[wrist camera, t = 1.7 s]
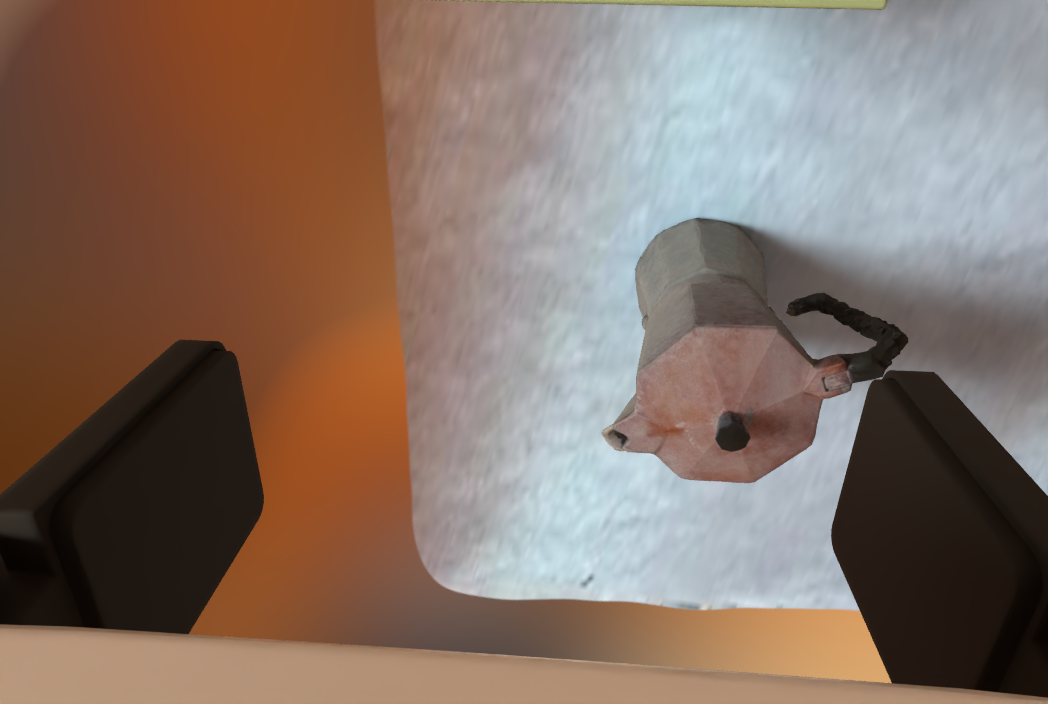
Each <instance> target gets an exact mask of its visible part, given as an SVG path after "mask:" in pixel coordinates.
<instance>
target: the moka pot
mask: <svg viewBox="0 0 1048 704" xmlns="http://www.w3.org/2000/svg"><path fill="white" fill-rule="evenodd" d="M635 270H636V288H637V295H638V303H639V308H640V311H641V313H642V316H643V319H642V326H643V328H644V329H645V330H646V331H645V336H644V340H643V345H642V350H641V355H640V359H639V364H638V370H637V377H636V394H635V395H634V396H633V398H632V399H631V400H630V402H629V403H628V404H627V406H626V407H625V409H624V410H623V412H622V413H621V415H620V416H619V417H618V418H617V420H616V421H615V422H614V423H613V424H612V425H610V426H609V427H607V428H605V429H604V430H603V431H602V435H603V437H604V439H605V440H606V442H607V443H608V444H609V445H610V446H612V447H613V448H614V449H615V450H618V451H627V452H636V453H651V454H654V455H656V456H657V457H658V458H659V459H661V460H662V461H663V462H664V463H665V464H666V465H667V466H668V467H669V468H670V469H671V470H672V471H673V472H674V473H675V474H677V475H678V476H679V477H680V478H683V479H688V480H701V481H722V482H736V483H752V482H755V481H757V480H758V479H760V478H762V477H763V476H765V475H766V474H768V473H770V472H771V471H773V470H774V469H776V468H777V467H779V466H781V465H782V464H784V463H785V462H787V461H788V460H790V459H791V458H793V457H794V456H796V455H798V454H799V453H801V452H802V451H804V450H805V449H807V448H808V447H809V446H810V445H812V443H813V440H814V438H815V434H816V428H817V423H818V418H819V412H820V408H821V405H822V401H823V399H826V398H831V397H834V396H837V395H840V394H843V393H846V392H848V391H850V390H851V387H852V384H853V383H856V382H862V381H867V380H872V379H876V378H880V377H883V375H884V372H885V370H886V369H887V368H888V366H890V365H892V361H891V360H892V359H893V358H895V357H896V356H898V355H899V354H900V351H901V350H903V348H904V347H905V345H906V344H907V343H908V337H907V336H906V334H904V333H903V332H902V331H900V329H899V328H898V327H896V326H895V325H894V324H888V323H887V322H886V321H882V320H881V319H880V318H877V317H872V316H870V315H868V314H866V313H865V312H863V311H859V310H858V309H854V308H850V307H849V306H848V305H847V304H846V303H845V302H839V301H838V300H837V299H835V298H832V297H831V296H829V295H827V294H825V293H816V294H813V295H809V296H807V297H804V298H799V299H796V300H794V301H793V302H791V303H789V305H788V307H789V308H788V309H787V312H786V313H787V314H789V315H790V316H798V315H801V314H804V313H807V312H810V311H820V312H821V313H825V314H829V315H833V316H834V318H835V319H836V320H838V321H839V322H841V323H842V324H843V325H848V326H849V327H850V328H852V329H853V330H855V331H857V332H860V334H861V335H863V336H865V337H867V338H871V339H873V340H875V341H877V344H876V346H874V347H872V348H871V349H869V350H868V351H866V352H861V353H854V354H836V355H831V356H828V357H825V358H822V359H819V360H817V359H812V358H811V357H810V356H809V355H808V354H807V353H806V351H805V350H804V348H803V347H802V346H801V345H800V344H799V342H798V341H797V340H796V339H795V338H794V337H793V335H792V334H791V332H790V331H789V330H788V329H787V328H786V326H785V325H784V324H783V323H782V321H781V320H779V319H778V318H777V316H776V315H775V312H774V311H773V309H772V308H771V307H768V306H767V301H768V300H767V290H766V285H765V273H764V259H763V255H762V253H761V252H760V251H759V249H758V248H757V247H756V245H755V244H754V243H753V242H752V241H751V239H750V238H749V237H748V236H747V235H746V234H745V233H743V232H742V231H741V230H740V229H739V228H738V227H736V226H734V225H731V224H728V223H724V222H719V221H714V220H708V219H700V218H695V219H691V220H687V221H684V222H682V223H679V224H678V225H675V226H673V227H671V228H669V229H666V230H663V231H662V232H661V233H659V234H658V235H657V236H656V237H655V238H654V239H653V240H652V241H651V243H650V244H649V245H648V247H647V249H646V250H645V252H644V253H643V255H642V256H641V258H640V259H639V261H638V264H637V266H636V269H635Z"/></svg>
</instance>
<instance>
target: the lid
mask: <svg viewBox="0 0 1048 704" xmlns="http://www.w3.org/2000/svg"><path fill="white" fill-rule="evenodd" d="M434 1H483V2H532V3H581V4H629V5H678V6H727V7H776V8H824V9H873V10H881V9H884V8H885V6H886V3H887V0H434Z"/></svg>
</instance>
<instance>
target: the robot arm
mask: <svg viewBox="0 0 1048 704" xmlns="http://www.w3.org/2000/svg"><path fill="white" fill-rule="evenodd" d="M263 503H264V495H263V488H262V483H261V478H260V473H259V468H258V463H257V458H256V453H255V448H254V443H253V438H252V432H251V428H250V422H249V417H248V412H247V407H246V402H245V397H244V392H243V386H242V381H241V376H240V371H239V366H238V362H237V358H236V356H235V355H234V353H233V352H231V351H226V349H225V348H224V346H223V344H222V343H220V342H218V341H197V340H179V341H177V342H175V343H174V344H173V345H172V346H171V347H169V348H168V349H167V350H166V351H165V352H164V353H162V354H161V355H160V356H159V357H158V358H157V359H156V360H154V361H153V362H152V363H151V364H150V365H149V366H148V367H146V368H145V369H144V370H143V371H142V372H141V373H139V374H138V375H137V376H136V377H135V378H134V379H133V380H132V381H130V382H129V383H128V384H127V385H126V386H125V387H124V388H122V389H121V390H120V391H119V392H118V393H117V394H115V395H114V396H113V397H112V398H111V399H110V400H109V401H107V402H106V403H105V404H104V405H103V406H102V407H100V408H99V409H98V410H97V411H96V412H95V413H94V414H92V415H91V416H90V417H89V418H88V419H87V420H86V421H84V422H83V423H82V424H81V425H80V426H79V427H78V428H76V429H75V430H74V431H73V432H72V433H71V434H70V435H68V436H67V437H66V438H65V439H64V440H62V441H61V442H60V443H59V444H58V445H57V446H56V447H55V448H53V449H52V450H51V451H50V452H49V453H48V454H47V455H45V456H44V457H43V458H42V459H41V460H40V461H38V462H37V463H36V464H35V465H34V466H33V467H32V468H30V469H29V470H28V471H27V472H26V473H25V474H23V475H22V476H21V477H20V478H19V479H18V480H17V481H15V482H14V483H13V484H12V485H11V486H10V487H8V488H7V489H6V490H5V491H4V492H3V493H2V494H1V495H0V704H1048V496H1047V495H1046V494H1045V493H1044V491H1043V490H1042V489H1041V488H1040V487H1039V486H1038V485H1037V484H1036V483H1035V482H1034V480H1033V479H1032V478H1031V477H1030V476H1029V475H1028V474H1027V473H1026V472H1025V471H1024V469H1023V468H1022V467H1021V466H1020V465H1019V464H1018V463H1017V462H1016V461H1015V460H1014V458H1013V457H1012V456H1011V455H1010V454H1009V453H1008V452H1007V451H1006V450H1005V449H1004V447H1003V446H1002V445H1001V444H1000V443H999V442H998V441H997V440H996V439H995V438H994V436H993V435H992V434H991V433H990V432H989V431H988V430H987V429H986V428H985V427H984V425H983V424H982V423H981V422H980V421H979V420H978V419H977V418H976V417H975V416H974V414H973V413H972V412H971V411H970V410H969V409H968V408H967V407H966V406H965V405H964V403H963V402H962V401H961V400H960V399H959V398H958V397H957V396H956V395H955V394H954V392H953V391H952V390H951V389H950V388H949V387H948V386H947V385H946V384H945V383H944V381H943V380H942V379H941V378H940V377H939V376H938V375H937V374H935V373H934V372H919V371H896V370H890V371H888V372H887V373H886V374H885V375H884V377H883V378H882V380H874V381H872V383H871V384H870V386H869V389H868V392H867V396H866V400H865V404H864V407H863V411H862V415H861V419H860V422H859V426H858V430H857V434H856V438H855V441H854V445H853V449H852V453H851V456H850V460H849V464H848V468H847V472H846V475H845V479H844V483H843V487H842V490H841V494H840V498H839V502H838V505H837V509H836V513H835V517H834V521H833V524H832V532H831V538H832V546H833V550H834V553H835V555H836V557H837V560H838V562H839V564H840V566H841V569H842V571H843V573H844V575H845V578H846V580H847V582H848V584H849V587H850V589H851V591H852V594H853V596H854V598H855V600H856V603H857V605H858V607H859V609H860V612H861V614H862V616H863V618H864V621H865V623H866V625H867V628H868V630H869V632H870V634H871V636H872V639H873V641H874V643H875V645H876V648H877V650H878V652H879V655H880V657H881V659H882V661H883V664H884V666H885V668H886V671H887V673H888V675H889V677H890V679H891V682H892V683H879V682H866V681H853V680H839V679H825V678H813V677H798V676H786V675H785V676H784V675H773V674H758V673H745V672H732V671H719V670H705V669H691V668H679V667H665V666H652V665H638V664H623V663H609V662H596V661H582V660H567V659H552V658H539V657H525V656H511V655H496V654H481V653H467V652H466V653H465V652H452V651H438V650H423V649H408V648H393V647H379V646H364V645H348V644H333V643H318V642H301V641H286V640H271V639H255V638H240V637H239V638H238V637H224V636H208V635H193V634H189V632H190V631H191V629H192V627H193V626H194V624H195V623H196V621H197V619H198V618H199V616H200V614H201V612H202V611H203V609H204V608H205V606H206V605H207V603H208V601H209V600H210V598H211V596H212V595H213V593H214V591H215V590H216V588H217V587H218V585H219V583H220V582H221V580H222V578H223V576H224V575H225V573H226V572H227V570H228V569H229V567H230V565H231V564H232V562H233V560H234V559H235V557H236V555H237V554H238V552H239V550H240V549H241V547H242V546H243V544H244V542H245V541H246V539H247V537H248V536H249V534H250V532H251V531H252V529H253V528H254V526H255V524H256V523H257V521H258V519H259V517H260V515H261V513H262V509H263Z"/></svg>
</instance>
